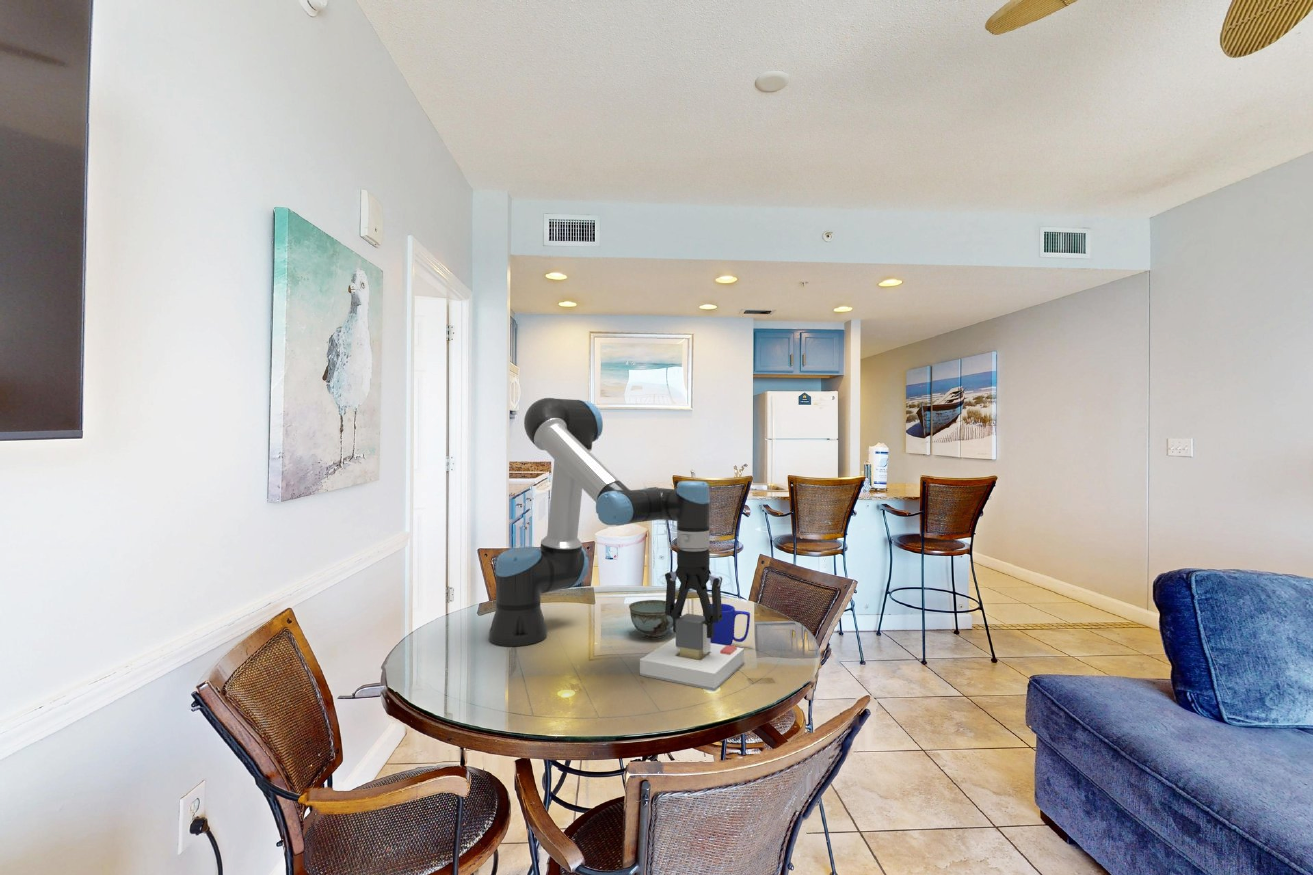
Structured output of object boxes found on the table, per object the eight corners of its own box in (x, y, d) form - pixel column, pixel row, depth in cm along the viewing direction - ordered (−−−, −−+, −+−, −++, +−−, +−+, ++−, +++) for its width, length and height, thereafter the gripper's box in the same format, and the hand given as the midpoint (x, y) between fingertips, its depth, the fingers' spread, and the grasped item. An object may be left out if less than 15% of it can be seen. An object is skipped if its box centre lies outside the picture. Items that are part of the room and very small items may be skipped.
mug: (749, 654, 148) (749, 613, 149) (700, 650, 151) (700, 610, 151) (750, 643, 156) (750, 604, 157) (704, 640, 159) (704, 602, 159)
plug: (675, 663, 137) (675, 619, 137) (686, 655, 142) (686, 613, 142) (699, 668, 134) (699, 623, 134) (710, 659, 139) (710, 616, 140)
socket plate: (639, 675, 135) (640, 656, 135) (675, 651, 150) (675, 634, 150) (714, 690, 126) (714, 670, 126) (744, 663, 142) (743, 645, 142)
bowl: (669, 645, 155) (669, 614, 155) (621, 639, 159) (621, 609, 160) (684, 630, 168) (684, 601, 168) (640, 625, 172) (640, 597, 172)
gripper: (649, 547, 140) (649, 647, 139) (725, 554, 131) (725, 661, 131) (664, 543, 146) (664, 638, 146) (737, 549, 138) (738, 651, 137)
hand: (693, 649), depth 138 cm, fingers closed on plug, 6 cm apart
